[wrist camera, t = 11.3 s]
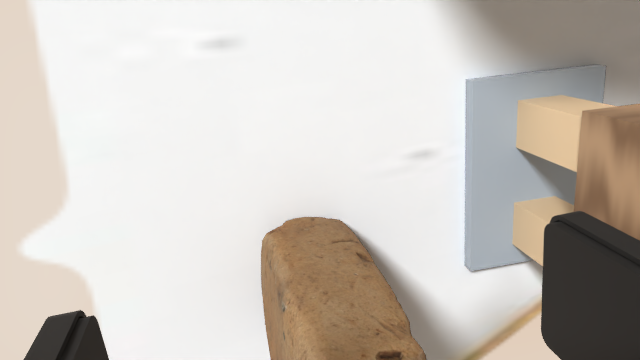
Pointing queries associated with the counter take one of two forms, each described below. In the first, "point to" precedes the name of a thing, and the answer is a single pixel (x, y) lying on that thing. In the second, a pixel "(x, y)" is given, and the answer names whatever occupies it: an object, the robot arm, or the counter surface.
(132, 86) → the counter surface
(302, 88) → the counter surface
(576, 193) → the beam
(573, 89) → the base
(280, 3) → the counter surface
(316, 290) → the brown rounded tall lump
